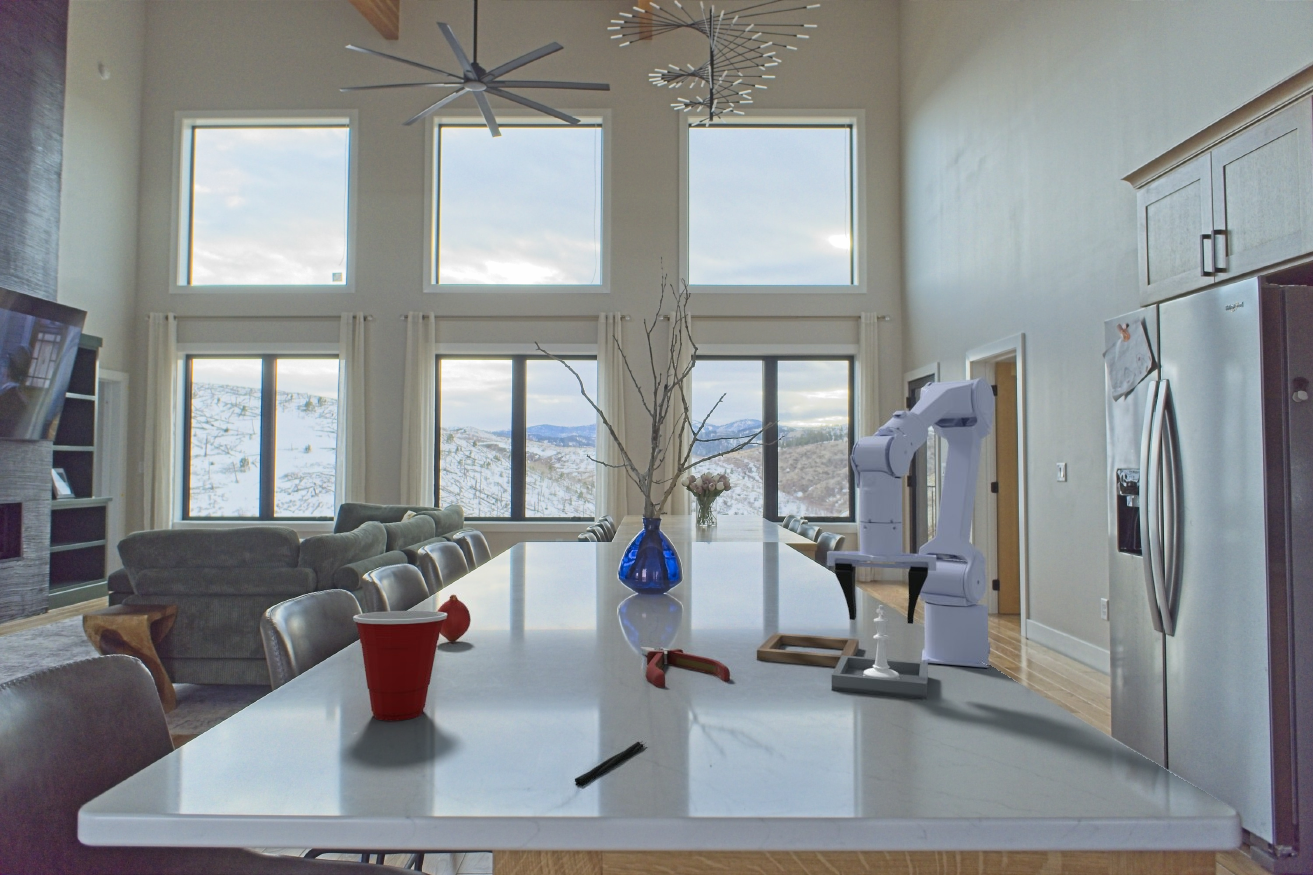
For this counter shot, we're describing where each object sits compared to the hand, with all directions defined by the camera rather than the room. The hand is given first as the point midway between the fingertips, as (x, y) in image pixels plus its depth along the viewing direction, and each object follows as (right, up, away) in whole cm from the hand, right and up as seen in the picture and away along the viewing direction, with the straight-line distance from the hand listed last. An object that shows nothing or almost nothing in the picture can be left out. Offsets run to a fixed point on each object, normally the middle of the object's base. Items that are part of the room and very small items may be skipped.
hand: (881, 620), depth 110 cm
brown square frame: (-7, -9, +17) cm, 20 cm away
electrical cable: (-35, -8, -31) cm, 48 cm away
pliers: (-27, -9, +7) cm, 30 cm away
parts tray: (0, -9, 0) cm, 9 cm away
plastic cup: (-62, -8, -16) cm, 64 cm away
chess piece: (0, -8, 0) cm, 8 cm away
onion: (-65, -9, +23) cm, 70 cm away
